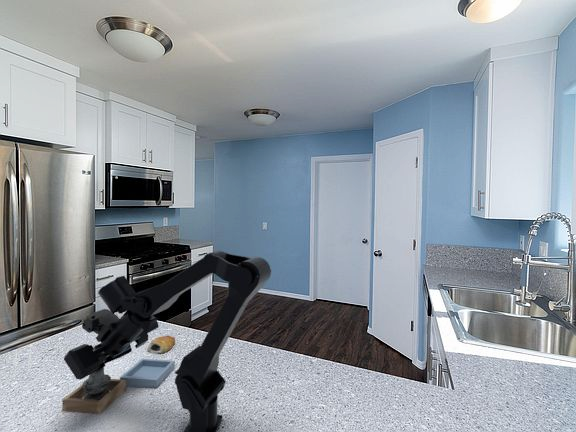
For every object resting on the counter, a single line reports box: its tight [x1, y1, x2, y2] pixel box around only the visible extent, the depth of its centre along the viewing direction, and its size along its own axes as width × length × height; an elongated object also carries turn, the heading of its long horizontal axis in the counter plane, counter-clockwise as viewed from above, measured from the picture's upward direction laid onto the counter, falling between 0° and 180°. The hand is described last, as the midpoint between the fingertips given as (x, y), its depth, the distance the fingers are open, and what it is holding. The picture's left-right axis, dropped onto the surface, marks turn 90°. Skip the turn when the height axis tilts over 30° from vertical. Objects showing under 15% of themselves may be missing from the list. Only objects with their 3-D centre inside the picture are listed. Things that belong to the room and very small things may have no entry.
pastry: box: [146, 335, 176, 354], centre depth 101 cm, size 9×7×4 cm
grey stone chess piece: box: [81, 362, 112, 400], centre depth 73 cm, size 6×6×12 cm
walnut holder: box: [61, 378, 127, 415], centre depth 73 cm, size 9×9×2 cm
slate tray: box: [119, 358, 176, 389], centre depth 83 cm, size 10×10×2 cm
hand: (92, 367), depth 73 cm, fingers closed on grey stone chess piece, 3 cm apart
